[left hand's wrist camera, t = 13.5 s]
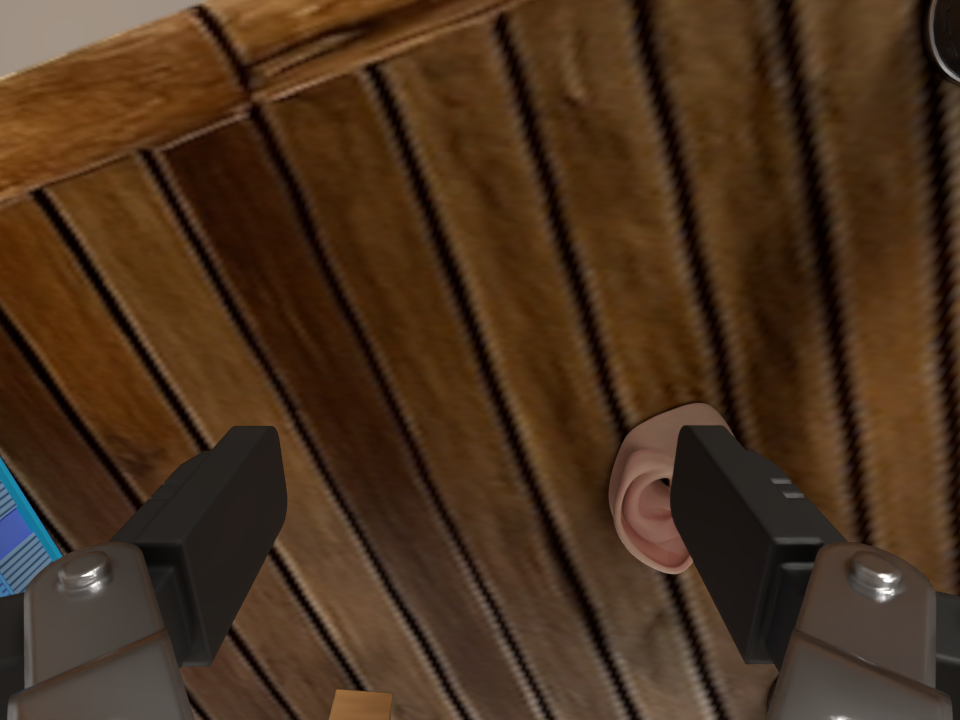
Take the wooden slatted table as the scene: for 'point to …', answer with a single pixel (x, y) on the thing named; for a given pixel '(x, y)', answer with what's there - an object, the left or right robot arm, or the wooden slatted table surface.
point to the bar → (361, 705)
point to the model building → (20, 538)
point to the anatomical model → (653, 487)
